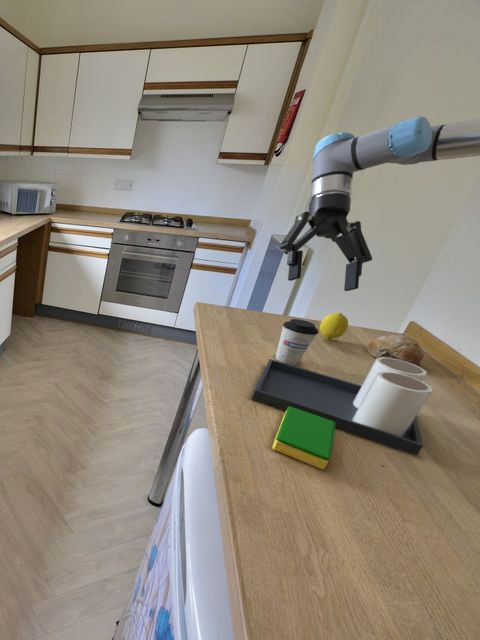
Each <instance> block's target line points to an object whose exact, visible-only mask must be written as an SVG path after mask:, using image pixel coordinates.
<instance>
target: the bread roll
mask: <svg viewBox="0 0 480 640" xmlns="http://www.w3.org/2000/svg"><path fill="white" fill-rule="evenodd" d="M366 349H367V352H368V353H369V354H370V355H371V356H372V357H374V358H375V359H377V358H379V357H386V358H393V359H398V360H402V361H406V362H409V363H411V364H414V365H416V366H418V365H419V364H421V362H422V361H423V359H424V357H425V352H424V349H423V347H421V346H420V344H419V343H418V342H417V341H416V340H414V339H413V338H412V337H410V336H407V335H403V334H392V335H383V336H377V337H376V338H374V339H372V340H371V342H370V343H369V344H368V346H367V348H366Z"/></svg>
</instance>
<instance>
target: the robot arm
mask: <svg viewBox="0 0 480 640" xmlns="http://www.w3.org/2000/svg"><path fill="white" fill-rule="evenodd" d="M473 157H480V118H478V119H472V120H471V119H470V120H465V121H458V122H451V123H445V124H438V125H431V123H430V121H429V120H428V118H427V117H425V116H416V117H413V118H410V119H406V120H401V121H398V122H397V123H394V124H392V125H388V126H386V127H383V128H380V129H378V130H374V131H372V132H368V133H365V134H363V135H360V136H357V137H356V136H355V135H354V134H353V133H351V132H346V131H345V132H344V131H343V132H340V133H332V134H328V135H327V136H325V137H323V138H322V139H320V140H319V141H318V142H317V143H316V145H315V147H314V153H313V157H312V159H311V161H312V170H311V182H310V184H311V185H310V194H309V201H310V202H309V205H308V210H306V211H304V212H302V213H300V214H298V215H296V216H295V220H294V223H293V225H292V227H291V228H290V230H289V231H288V233H287V234H286V235H285V237H284V238H283V240H282V241H281V242H280V244H279V249H280V250H283V254H284V255H286V256H287V258H286V265H287V266H288V275H287V281H295V280H298V279H300V278H301V277H302V265H303V256H304V255H303V254H304V251H303V250H300V249H301V248H302V247H303V246H305V245H306V244H307V243H309V241H310V240H311V239H313V238H314V237H315V236H316V237H318V238H325V239H330V240H331V241H332V242H333V243H336V245H337V247H338V248H339V250H340V251H341V253H342V254H343V255H344V257H345V258H346V260H347V261H348V263H346V264H345V275H344V286H343V287H344V288H343V291H344V292H350V291H354V290H357V289H359V284H360V277H362V270H363V264H365V263H367V262H368V263H369V262H371V261H372V260H373V256H372V254H371V251H370V249H369V245H368V244H367V241H366V239H365V236H364V234H363V231H362V222H361V221H360V220H356V221H354V222H350V221H348V218H347V217H348V215H349V213H350V211H351V204H352V203H351V202H352V198H351V196H352V190H353V178H354V173H355V172H359V171H363V170H367V169H369V168H373V167H377V166H380V165H384V164H397V165H403V166H408V165H417V164H419V163H427V162H435V161H445V160H454V159H455V160H456V159H463V158H464V159H465V158H473ZM307 224H308V226H309V229H307V230H306V231H305V232H304V234H303V235H302V236H300V237H299V235H300V234H301V232H302V231H303V230H304V228H305V226H306V225H307ZM298 237H299V238H298ZM297 238H298V239H297Z"/></svg>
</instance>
